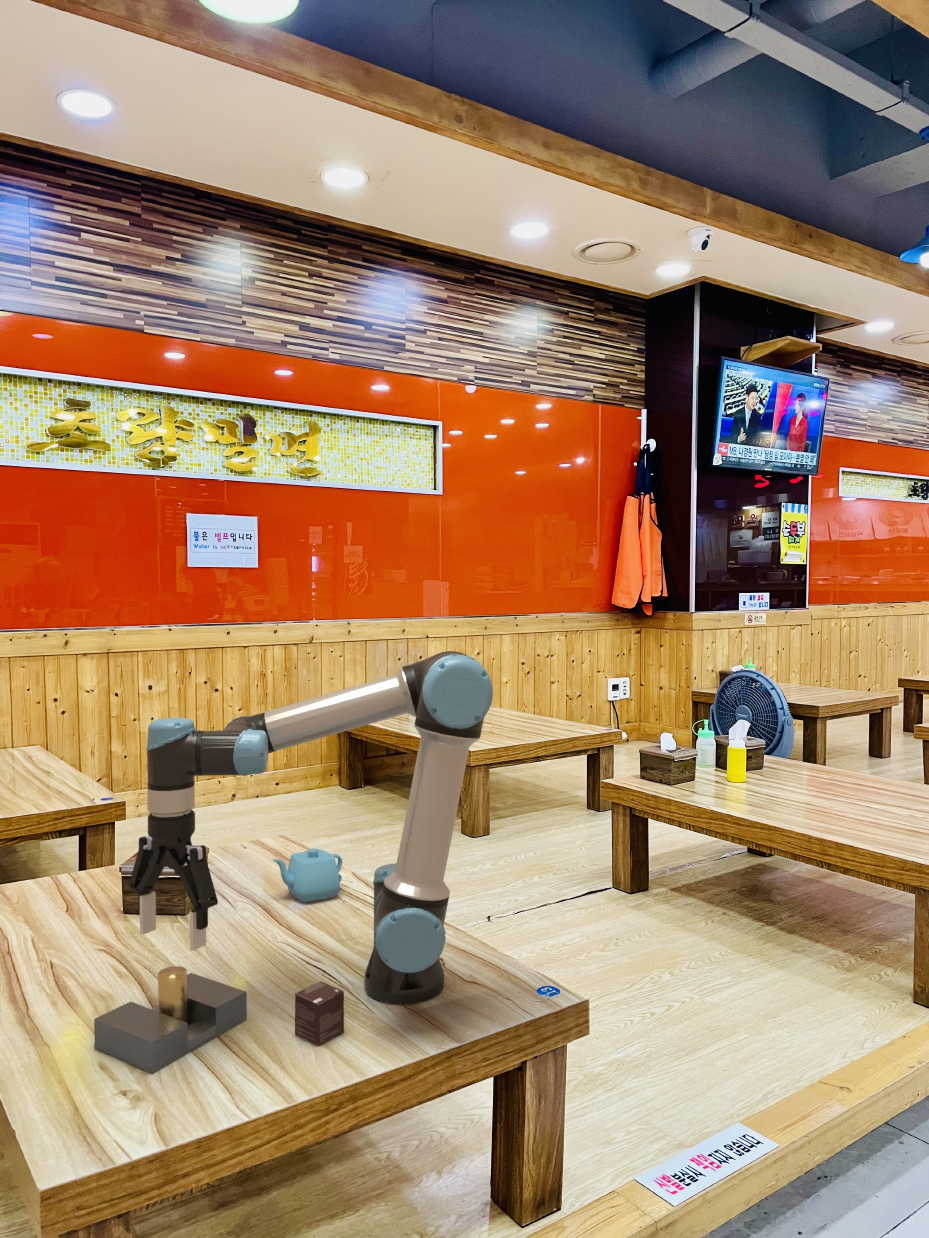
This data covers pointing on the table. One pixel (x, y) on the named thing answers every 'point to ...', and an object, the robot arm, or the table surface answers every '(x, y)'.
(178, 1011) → the gold cylinder
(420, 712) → the robot arm
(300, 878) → the teapot
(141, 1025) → the jig
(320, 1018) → the box
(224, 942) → the table surface
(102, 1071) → the table surface
